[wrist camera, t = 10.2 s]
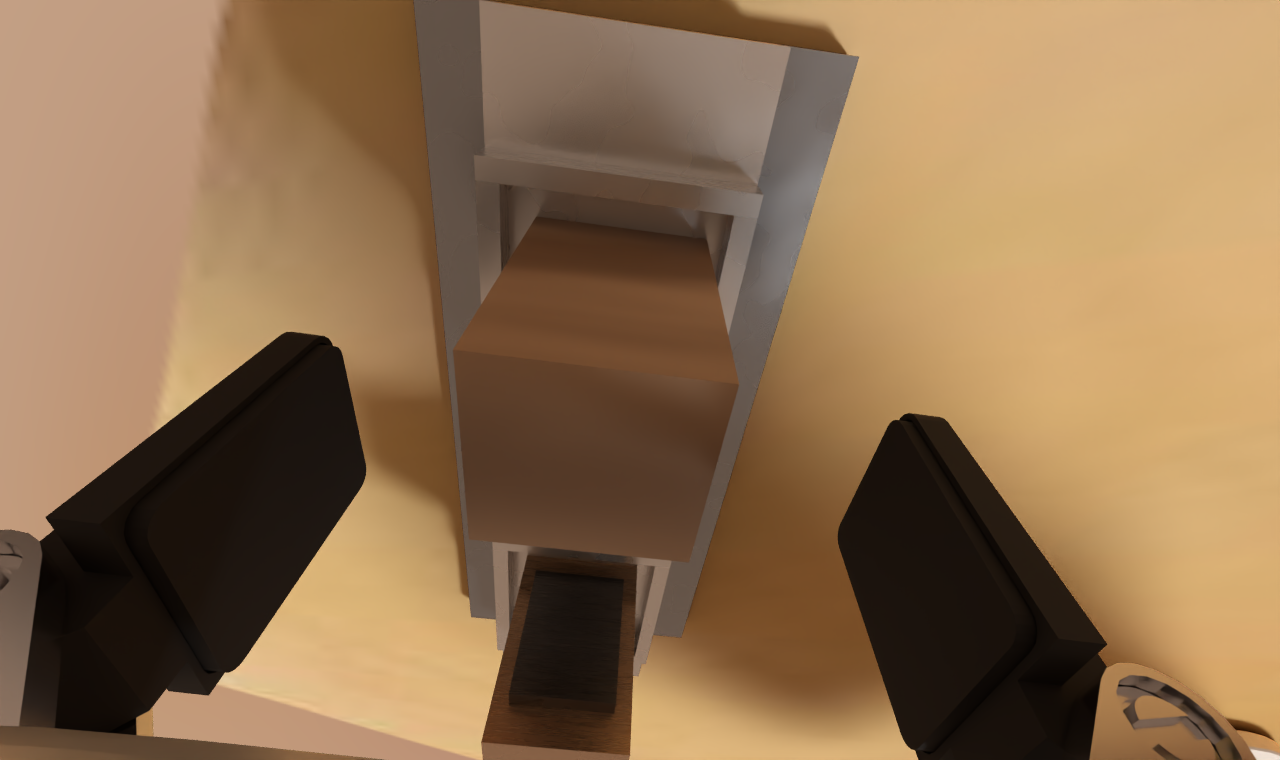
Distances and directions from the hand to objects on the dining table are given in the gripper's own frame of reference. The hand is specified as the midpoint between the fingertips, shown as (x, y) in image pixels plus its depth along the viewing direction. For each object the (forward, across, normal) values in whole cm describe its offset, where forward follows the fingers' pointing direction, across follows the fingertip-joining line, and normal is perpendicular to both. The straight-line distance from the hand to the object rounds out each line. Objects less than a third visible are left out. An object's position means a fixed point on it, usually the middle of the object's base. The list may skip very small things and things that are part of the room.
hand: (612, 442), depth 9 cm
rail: (+8, +1, +6) cm, 10 cm away
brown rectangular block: (+5, 0, 0) cm, 5 cm away
